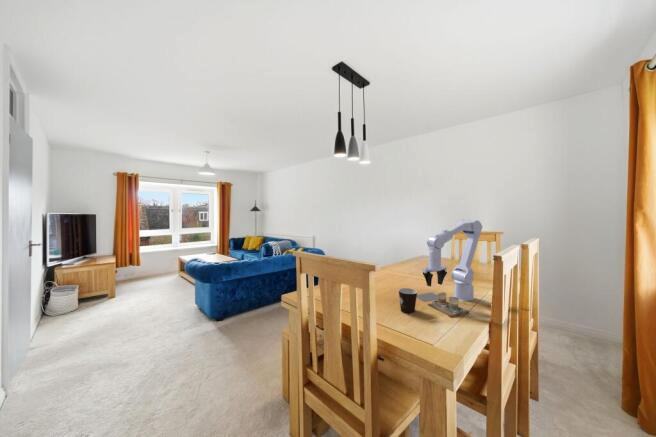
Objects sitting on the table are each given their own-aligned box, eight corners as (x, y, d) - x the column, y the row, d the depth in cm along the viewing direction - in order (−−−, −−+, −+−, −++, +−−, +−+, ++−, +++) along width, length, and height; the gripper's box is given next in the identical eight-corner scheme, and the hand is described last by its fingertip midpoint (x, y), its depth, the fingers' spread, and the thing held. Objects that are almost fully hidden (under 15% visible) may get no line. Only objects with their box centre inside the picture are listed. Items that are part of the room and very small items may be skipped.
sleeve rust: (448, 305, 123) (448, 293, 123) (441, 306, 121) (442, 295, 121) (441, 302, 127) (441, 291, 126) (435, 303, 125) (435, 292, 125)
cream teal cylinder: (460, 311, 116) (460, 298, 116) (453, 312, 115) (454, 300, 114) (453, 307, 120) (453, 296, 120) (446, 309, 119) (447, 297, 118)
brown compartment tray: (445, 302, 129) (445, 298, 129) (469, 313, 116) (469, 308, 116) (427, 305, 125) (427, 301, 125) (450, 317, 112) (450, 312, 112)
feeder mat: (431, 293, 144) (431, 292, 144) (444, 299, 134) (444, 298, 134) (412, 296, 139) (412, 295, 139) (425, 302, 129) (425, 301, 129)
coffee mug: (418, 315, 114) (418, 294, 113) (399, 314, 115) (399, 293, 115) (414, 305, 125) (414, 286, 125) (397, 304, 127) (397, 285, 126)
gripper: (439, 257, 134) (438, 281, 135) (418, 259, 129) (418, 284, 129) (450, 259, 128) (449, 285, 128) (428, 261, 122) (428, 288, 123)
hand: (434, 285), depth 128 cm, fingers open, 7 cm apart
